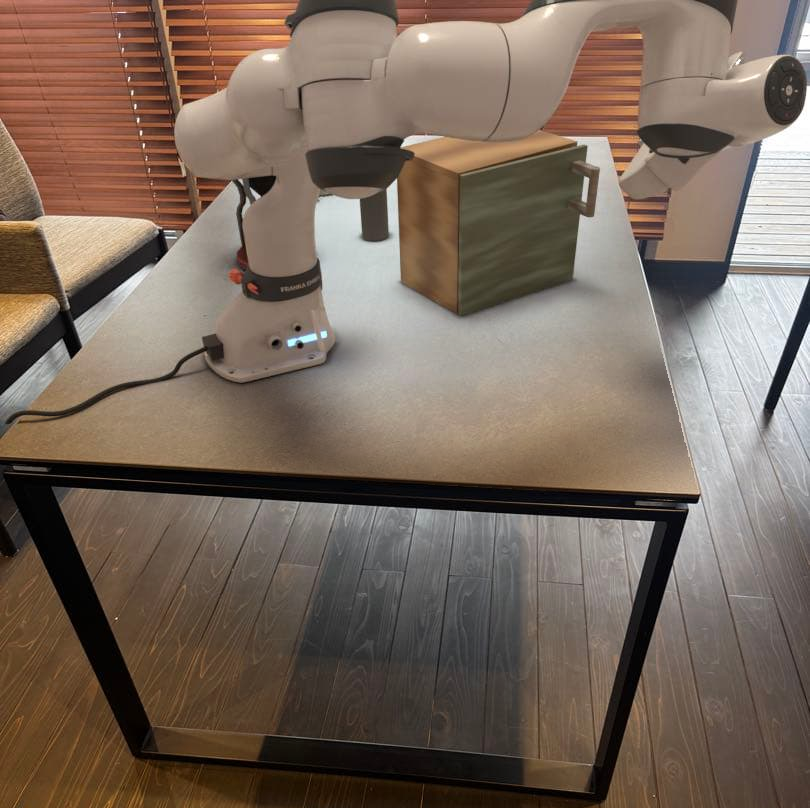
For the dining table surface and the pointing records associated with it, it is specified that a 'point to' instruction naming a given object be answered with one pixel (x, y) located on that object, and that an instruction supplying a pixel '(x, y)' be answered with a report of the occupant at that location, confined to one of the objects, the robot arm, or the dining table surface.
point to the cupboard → (447, 205)
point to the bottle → (374, 217)
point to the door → (521, 226)
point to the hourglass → (260, 187)
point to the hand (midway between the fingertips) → (646, 138)
